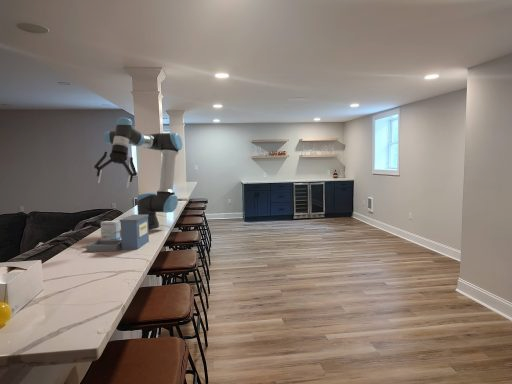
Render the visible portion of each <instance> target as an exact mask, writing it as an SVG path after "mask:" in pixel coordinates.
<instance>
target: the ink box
mask: <svg viewBox="0 0 512 384" xmlns="http://www.w3.org/2000/svg"><path fill="white" fill-rule="evenodd" d="M100 237H101V239H100V240H121V223H120V220H105V221H101V222H100Z"/></svg>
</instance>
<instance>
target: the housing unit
mask: <svg viewBox="0 0 512 384" xmlns="http://www.w3.org/2000/svg"><path fill="white" fill-rule="evenodd" d="M148 216H149V214H144V215H138V214H131V215H128V216H126V217H123V218H121V219H119V223H120V240H121V242H122V248H121V250H139V249H141V248H142V247H143V246H145V245H146V244H147V243H149V242H150V236H149V234H150V233H149V229H148Z"/></svg>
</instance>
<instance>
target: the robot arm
mask: <svg viewBox="0 0 512 384" xmlns="http://www.w3.org/2000/svg"><path fill="white" fill-rule="evenodd" d="M103 141H104V142H105V144H107V145H112V146H111V153H110V152H108V151H104V154H103V155H102V156H101V158H100V159H99V160H98V161H97V163H95V165H93V166H94V167H93V168H94V169H96V170H97V172H96V177H98V179H97V180H98V181H97V184H100V183H101V177H102V172H103V169H104V168H105V167H107V166H108V165H110V164H112V163H114V164H118V165H122V166H123V167H124V168H125V170H126V172H127V173H128V174H129V175H128V176H127V183H126V189H129V187H130V183H132V182H133V177H137V174H138V172H137V170H136V167H135V165H134V164H135V163H134V161H133V159H134V157H133V156H129V157H128V150H129V146H132V147H142V148H144V149H146V150H147V149H148V150H154V151H160V153H161V155H162V156H161V157H162V158H161V169H160V179H159V180H160V181H159V189H158V190H157V191H156V192H148V193H141V194H138V195H137V197H136V199H137V200H136V202H137V206H136V207H137V215H144V214H149V216H148V230H150V229H151V228H152V229H157V228H159V227H160V222H159V219H158V217H157V213H164V214H166V213H167V214H168V213H173V212H175V210H176V209H177V207H178V203H179V199H178V196H177V195H176V192H175V191H174V182H175V181H174V180H175V169H176V168H175V167H176V157H177V155H179V151H181V150H182V149H183V140H182V138H181V135H180V134H179V133H177V132H164V133H163V132H159V133H149V134H148V133H145V134H142V133H141V132H140V131H139V130H137V129H136V128H135V127H133V121H132V120H131V119H130V118H128V117H119V118H117V121H116V125H115V130H108V131H105V132H104V133H103ZM108 157H109V158H110V159H108V160H107V161H106V162H104V161H105V160H106V158H108ZM126 161H128V162H129V165H130V167H129V165H128V164H127V162H126ZM103 162H104V163H103ZM102 163H103V164H102Z"/></svg>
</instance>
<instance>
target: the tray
mask: <svg viewBox="0 0 512 384" xmlns="http://www.w3.org/2000/svg"><path fill="white" fill-rule="evenodd" d="M119 250H122V242H121V239H120V240H101V239H98V240H96V241H94V242H90V243H89V244H86V251H87V252H118V251H119Z"/></svg>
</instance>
